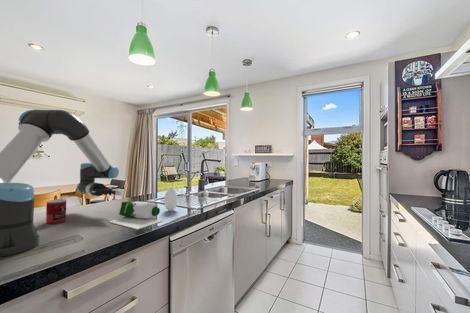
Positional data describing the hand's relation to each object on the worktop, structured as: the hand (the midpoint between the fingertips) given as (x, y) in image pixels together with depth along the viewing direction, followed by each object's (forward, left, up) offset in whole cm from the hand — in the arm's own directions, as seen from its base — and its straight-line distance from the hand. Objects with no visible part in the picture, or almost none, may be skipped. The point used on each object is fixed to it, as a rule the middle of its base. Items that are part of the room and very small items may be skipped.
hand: (120, 192), depth 115 cm
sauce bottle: (+19, -21, -14) cm, 32 cm away
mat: (-5, -12, -14) cm, 19 cm away
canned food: (-10, +28, -14) cm, 33 cm away
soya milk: (+3, -1, -9) cm, 10 cm away
